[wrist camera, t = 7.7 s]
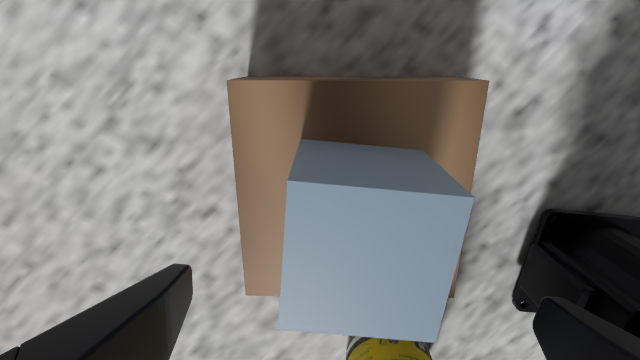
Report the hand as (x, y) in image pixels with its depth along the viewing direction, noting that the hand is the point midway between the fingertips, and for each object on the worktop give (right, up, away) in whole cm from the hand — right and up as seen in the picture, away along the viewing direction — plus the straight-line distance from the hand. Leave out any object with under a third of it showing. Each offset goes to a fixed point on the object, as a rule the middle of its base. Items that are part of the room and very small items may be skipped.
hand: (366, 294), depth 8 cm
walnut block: (0, +3, +10) cm, 10 cm away
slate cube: (0, +2, +6) cm, 6 cm away
